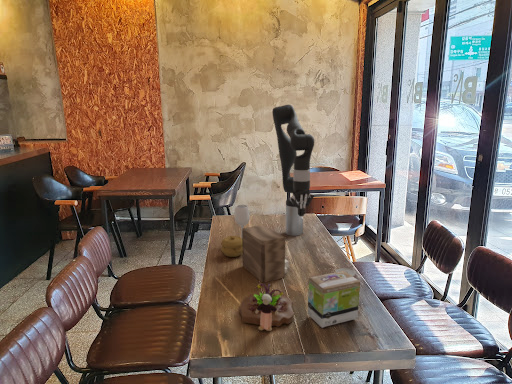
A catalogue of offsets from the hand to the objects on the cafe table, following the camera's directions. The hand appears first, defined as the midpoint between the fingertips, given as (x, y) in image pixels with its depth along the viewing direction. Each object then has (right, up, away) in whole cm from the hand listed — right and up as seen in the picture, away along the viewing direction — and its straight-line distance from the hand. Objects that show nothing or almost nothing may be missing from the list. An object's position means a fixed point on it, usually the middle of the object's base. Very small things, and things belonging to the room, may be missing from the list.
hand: (301, 215), depth 173 cm
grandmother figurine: (-17, -35, -46) cm, 61 cm away
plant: (-17, -33, -35) cm, 51 cm away
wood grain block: (-18, -25, -4) cm, 31 cm away
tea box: (+6, -34, -40) cm, 52 cm away
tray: (-14, -24, -2) cm, 28 cm away
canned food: (+13, -31, -27) cm, 43 cm away
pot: (-32, -21, +15) cm, 41 cm away
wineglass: (-28, -17, +31) cm, 45 cm away
